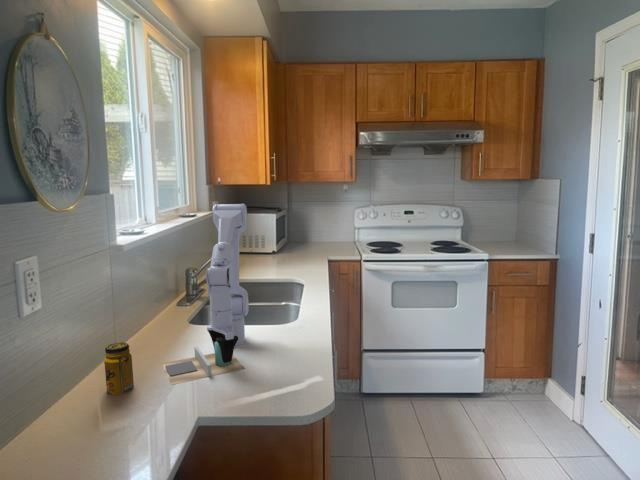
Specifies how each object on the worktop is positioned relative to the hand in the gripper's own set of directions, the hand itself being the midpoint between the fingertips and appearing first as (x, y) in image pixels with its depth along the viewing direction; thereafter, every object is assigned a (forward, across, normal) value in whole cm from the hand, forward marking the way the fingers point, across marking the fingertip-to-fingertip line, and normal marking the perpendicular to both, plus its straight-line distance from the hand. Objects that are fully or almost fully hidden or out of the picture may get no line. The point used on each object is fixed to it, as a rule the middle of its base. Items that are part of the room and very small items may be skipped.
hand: (223, 357), depth 122 cm
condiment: (+3, +2, -26) cm, 26 cm away
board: (+3, -1, -6) cm, 6 cm away
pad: (+2, -2, -11) cm, 11 cm away
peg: (+2, 0, 0) cm, 2 cm away
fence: (+2, -1, -6) cm, 6 cm away
